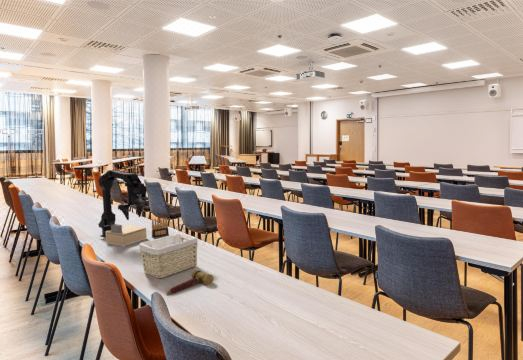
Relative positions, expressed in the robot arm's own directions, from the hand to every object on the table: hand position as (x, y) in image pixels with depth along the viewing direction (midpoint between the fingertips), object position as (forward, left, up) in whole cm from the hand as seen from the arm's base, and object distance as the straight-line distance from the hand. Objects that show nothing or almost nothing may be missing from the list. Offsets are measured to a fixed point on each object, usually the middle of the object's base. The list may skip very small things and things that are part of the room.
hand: (133, 218), depth 234 cm
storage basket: (+57, -29, -15) cm, 65 cm away
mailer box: (-5, -2, -14) cm, 15 cm away
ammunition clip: (+7, +15, -15) cm, 22 cm away
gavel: (+79, -42, -15) cm, 90 cm away
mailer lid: (-5, -2, -8) cm, 10 cm away
